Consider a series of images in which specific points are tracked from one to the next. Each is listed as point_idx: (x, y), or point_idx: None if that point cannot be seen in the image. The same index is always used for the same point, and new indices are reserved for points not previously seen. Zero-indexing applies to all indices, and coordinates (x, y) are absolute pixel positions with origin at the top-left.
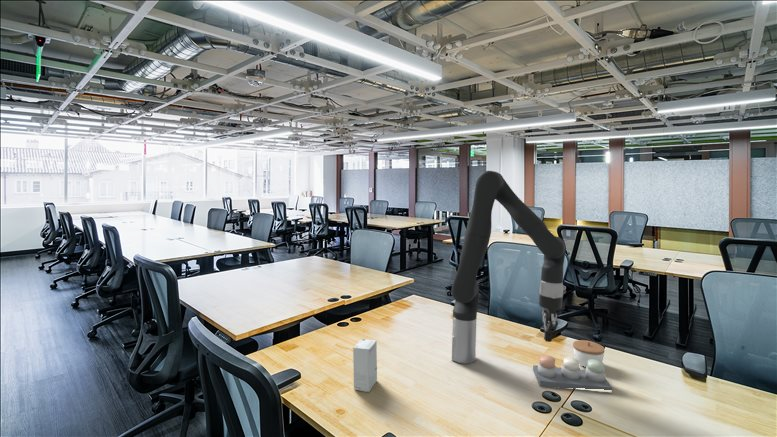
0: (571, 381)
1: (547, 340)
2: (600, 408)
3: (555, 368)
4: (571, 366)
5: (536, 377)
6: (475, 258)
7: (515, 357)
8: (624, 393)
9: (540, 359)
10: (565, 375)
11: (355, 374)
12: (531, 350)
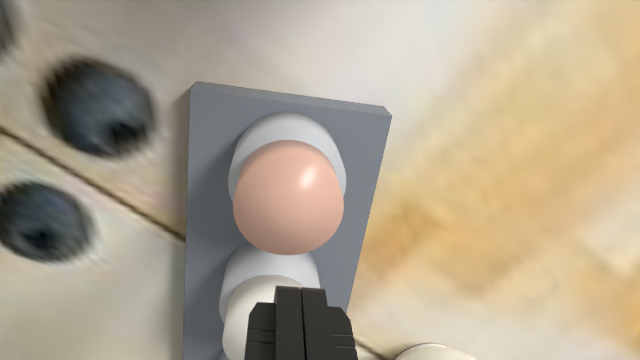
0: (210, 259)
1: (254, 309)
2: (44, 293)
3: None
4: (226, 316)
5: (285, 95)
6: None
7: (556, 48)
8: None
9: (283, 155)
10: (243, 252)
11: None
12: (615, 179)
